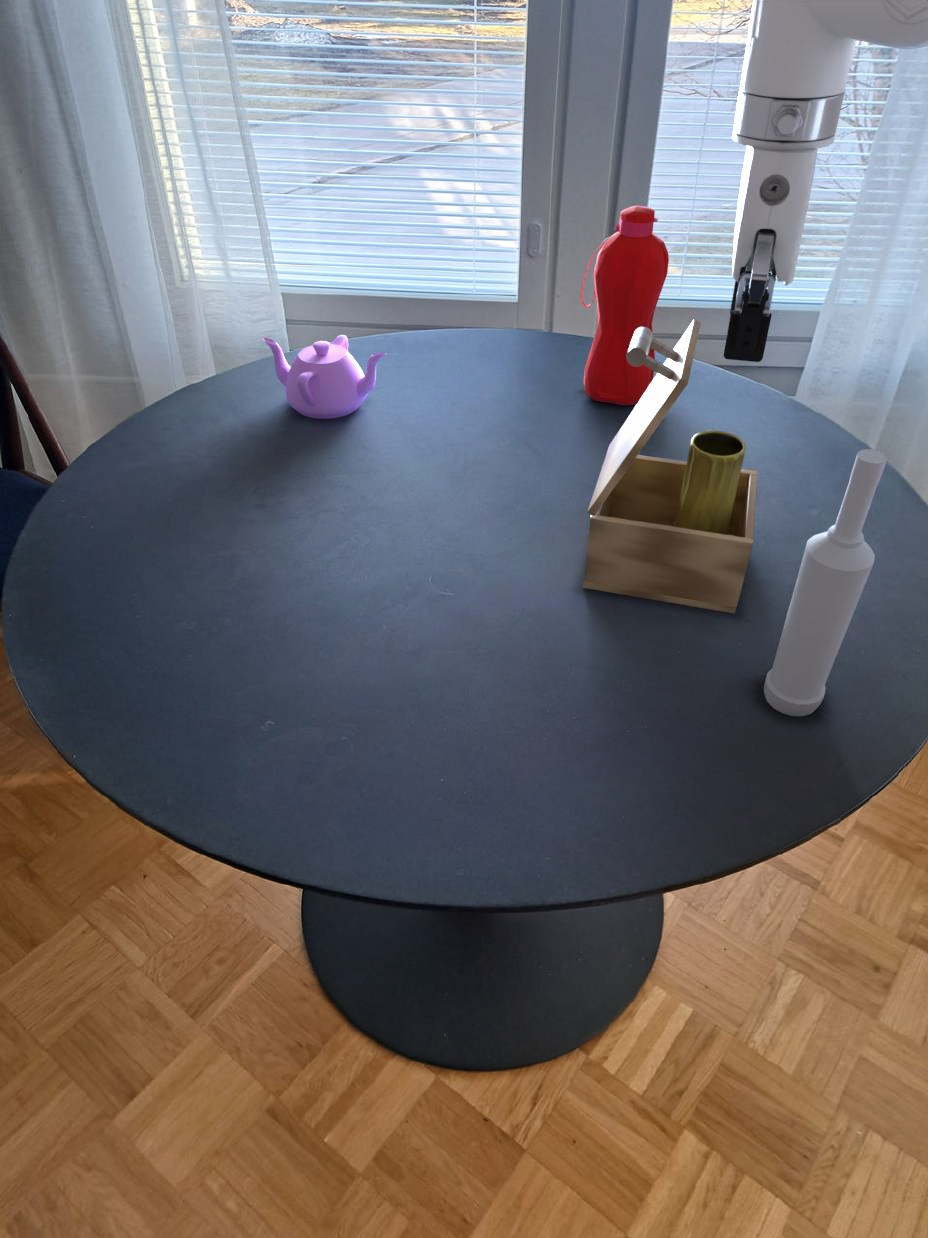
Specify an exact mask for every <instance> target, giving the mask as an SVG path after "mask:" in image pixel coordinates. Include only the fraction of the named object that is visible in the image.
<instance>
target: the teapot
mask: <svg viewBox="0 0 928 1238" xmlns="http://www.w3.org/2000/svg"><path fill="white" fill-rule="evenodd" d="M262 340H263V341H264V342H265V343H266V345H267V346H268V347H269V348H270V350H271V353H272V356H273V362H274V370H275V375H276V377H277V379H278V381H279V382H280V384H281V385H282V386H283V387H284V388H285V398H286V401H287V403H288V404H289V405H290V406H291V407H292V408H293V409H294V410H295V411H297V412H298V413H299V414H301V415H302V416H304V417H307V418H312V419H319V420H329V419H330V420H331V419H337V418H342V417H345V416H348V415H350V414H352V413H354V412H355V411H357V410H358V409H359V408H360V407H361V405H362V404H363V403H364V401H365V400H366V399H367V396H368V395H369V394H370V393H371V392H373V389H374V387H375V385H376V380H377V365H378V362H379V361H380V359H381V358H382V357H384V356H386V354H387V353H386V352H377V353H374V354H372V355H370V356H369V358H368V360H367V364H366V372H365V374H364V371H363V370H362V368H361V367H360V365H359V363H358V362H357V360H356V359H355V358H354V357H353V355H352V354H351V353H350V352H349V340H348V337H347V335H345V334H340V335H338V336H337V337H336V338H335V339H334V340H333V341H332V343H330V342H329V341H326V340H319V341H315V342H314V343H313V344H312V345H309V346H307V347H304V348H302V349H301V350H299V352H298V353H297V354H296V356H295V358H294V359H293V362H292V364H291V366H290V365H289V364H288V362H287V360H286V358H285V355H284V352H283V349H282V347H281V346H280V345H279V343H278V342H276V341H275V340H273V339H272V338H269V337H262Z"/></svg>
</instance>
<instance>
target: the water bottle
mask: <svg viewBox="0 0 928 1238" xmlns="http://www.w3.org/2000/svg"><path fill="white" fill-rule="evenodd" d="M655 215H656V210H655V209H653V208H651V207H649V206H644V205H633V206H629V207H627V208H624V209H622V210H621V211H620V214H619V222H618V223H616V224H615V225H614V229H613V233H612V234H611V235H609V236H608V237H606V238H605V239H604V240H603V241H602V243H601V245H599V247H598V248H596V250H595V251H594V252H593V254H592V256H591V257H590V260H589V262H588V265H587V267H586V271H585V274H584V278H583V282H582V285H581V291H580V297H581V298H580V300H581V303H582V305H583V306H584V307H588V308H589V307H590V306H591V305H593V303H594V300H595V299H596V308H597V326H596V330H595V334H594V337H593V339H592V343H591V346H590V350H589V353H588V356H587V359H586V362H585V366H584V375H583V387H584V392H585V395H586V396H588V397H589V398H590V399H591V400H593V401H594V402H601V403H608V404H615V405H621V406H626V407H628V406H633V405H637V403H638V402H639V400H640V399H641V397H642V396H643V394H644V393H645V391H646V390H647V388H648V387H649V385H650V384H651V382H652V381H653V379H654V377H655V376H654V374H655V371H653V370H652V369H650V368H648V367H646V366H645V365H641V366H638V367H635V366H632V365H630V364H629V363H628V361H627V353H628V350H629V347H630V344H631V341H632V338H633V336H634V333H635V331H636V330H637V329H638V328H640V327H647V328H649V329H650V330H651V331H652V333H653V334H654V332H653V321H654V315H655V310H656V308H657V306H658V305H657V304H658V301H659V299H660V297H661V293H662V290H663V287H664V284H665V282H666V278H667V276H668V272H669V261H670V259H669V258H670V257H669V251H668V249H667V247H666V244H665V242H664V241H663V240H662V239H661V238H660V237H659V236H658V235H656V234H655V233H654V223H657V222H658V220H659V218H657V217H655ZM598 250H599V252H598V253H597V255H596V259H595V260H596V261H595V266H594V271H593V282H594V289H593V298H592V300H591V301H592V302H591V303H590V304H585V303H584V300H583V291H584V284H585V280H586V277H587V275H588V274H587V273H588V271H589V267H590V264H591V261H592V260H593V257H594V255H595V253H596V252H597V251H598ZM655 354H656V353H655V350H653V349H651V348H650V349H649V352H648V356H650V357H651V358H653V359H655V360H656V355H655Z"/></svg>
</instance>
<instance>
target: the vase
mask: <svg viewBox="0 0 928 1238" xmlns="http://www.w3.org/2000/svg"><path fill="white" fill-rule="evenodd" d="M688 449H689V450H688V455H687V466H686V471H685V476H684V481H683V486H682V491H681V495H680V499H679V504H678V508H677V513H676V517H675V521H674V526H673V527H678V528H685V529H691V530H698V531H705V532H711V533H718V534H724V535H728V533H729V527H730V521H731V516H732V511H733V507H734V502H735V496H736V491H737V486H738V481H739V476H740V472H741V469H742V467H743V462H744V459H745V458H744V457H745V453H746V449H747V446H746V443H745V441H744V440H743V439H742V438H741V437H739V436H738V435H735V434H733V433H730V432H727V431H722V430H704V431H700V432H698V433H696V434H694V435H693V437H691V440H690V444H689V448H688Z"/></svg>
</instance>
